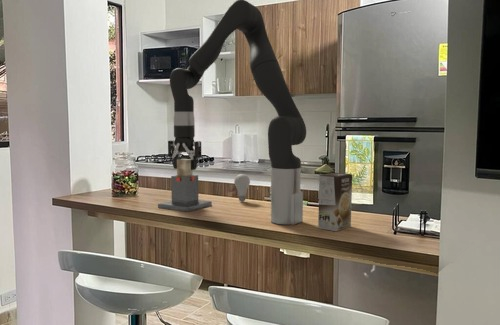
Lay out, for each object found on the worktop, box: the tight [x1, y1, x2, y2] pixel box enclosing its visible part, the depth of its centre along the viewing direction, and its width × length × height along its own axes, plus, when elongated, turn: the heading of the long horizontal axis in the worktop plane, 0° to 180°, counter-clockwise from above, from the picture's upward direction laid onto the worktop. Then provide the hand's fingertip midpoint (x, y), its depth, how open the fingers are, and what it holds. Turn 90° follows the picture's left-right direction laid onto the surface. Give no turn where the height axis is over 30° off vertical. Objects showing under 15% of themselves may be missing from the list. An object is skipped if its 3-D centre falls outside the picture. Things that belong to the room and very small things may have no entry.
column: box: [176, 158, 194, 177], centre depth 166 cm, size 4×4×16 cm
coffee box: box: [317, 172, 353, 232], centre depth 134 cm, size 9×6×16 cm
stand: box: [157, 174, 213, 213], centre depth 167 cm, size 14×14×12 cm
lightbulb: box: [233, 173, 251, 203], centre depth 176 cm, size 6×6×11 cm
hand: (184, 169), depth 166 cm, fingers open, 7 cm apart
